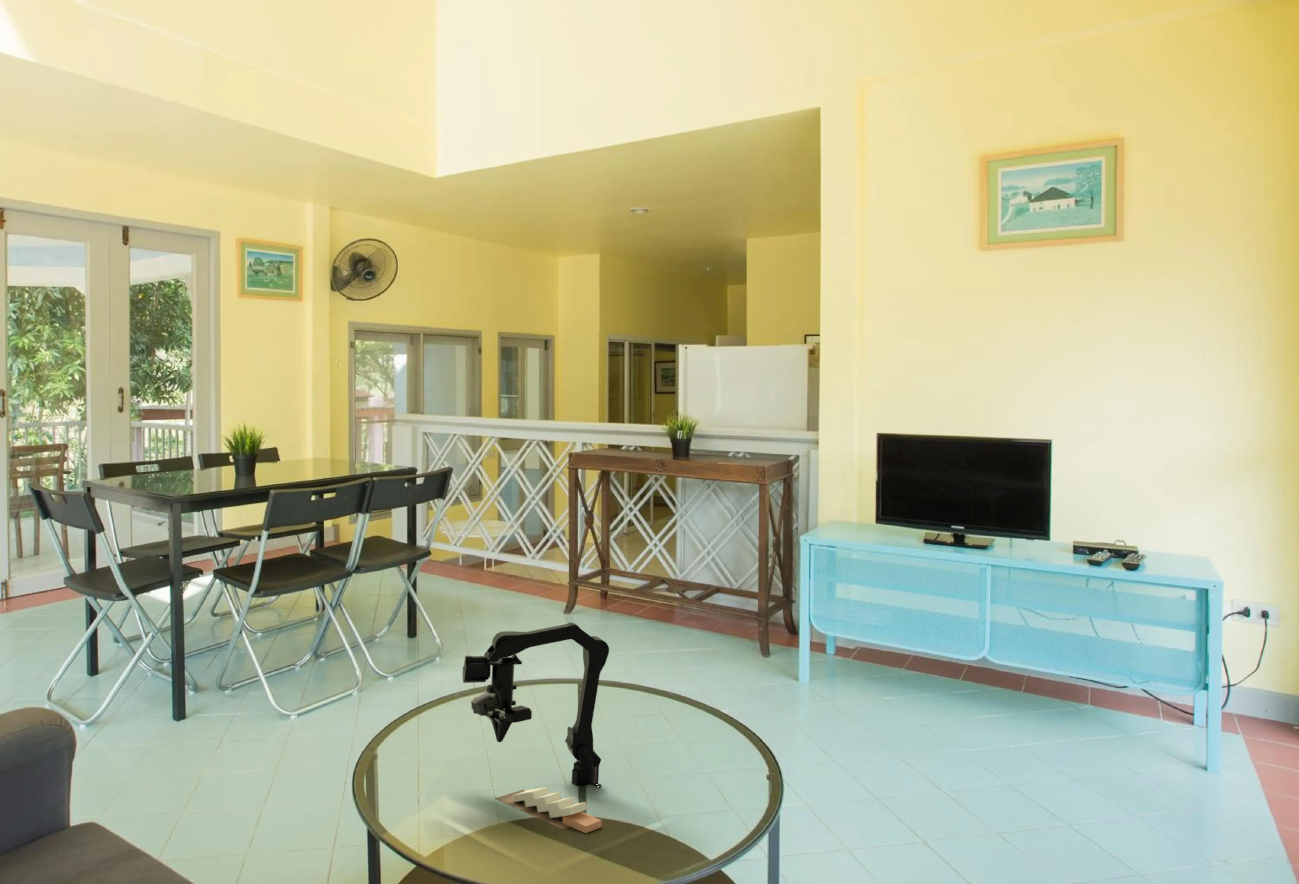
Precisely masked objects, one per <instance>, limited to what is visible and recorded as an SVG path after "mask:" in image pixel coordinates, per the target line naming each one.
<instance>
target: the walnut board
mask: <svg viewBox="0 0 1299 884" xmlns="http://www.w3.org/2000/svg"><path fill="white" fill-rule="evenodd" d="M524 791H526V790H525V789H521V790H517V791H514V792H510V793H507V794H505V795H502V796H499V797H495V798H494V799H495V800H498V801H500V802H502V803H503V804H507V805H509V806H511V807H512V808H515V809H517V810H519V811H521V812H523V813H526V814H528V815H530V816H533V817H535V818H537V819H538V820H542V821H544V822H546V823H548V824H550V825H553V826H554V827H557V828H559V829H561V830H567V829H570V828H571V827H570V826H568V825H566V824H564V823H562V821H563V816H560V817H554V818H550V816H549V811H545V812H539V813H538V811H537V806H530V807H525V801H524V800H523V801H517V802H514V800H513V795H515V794H518V793H521V792H524Z"/></svg>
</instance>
